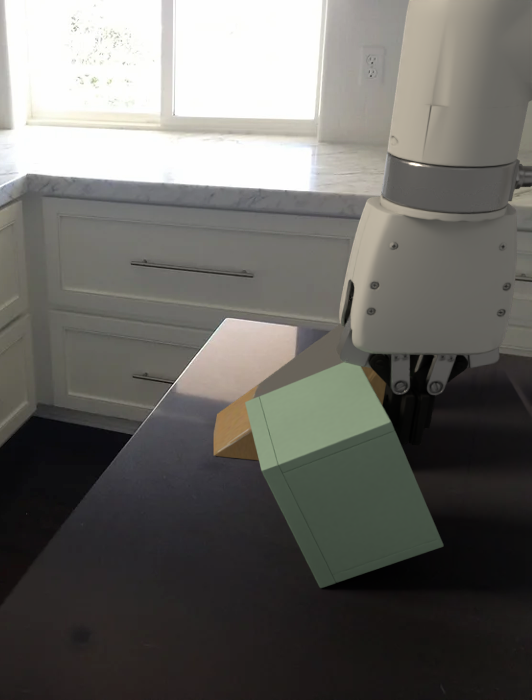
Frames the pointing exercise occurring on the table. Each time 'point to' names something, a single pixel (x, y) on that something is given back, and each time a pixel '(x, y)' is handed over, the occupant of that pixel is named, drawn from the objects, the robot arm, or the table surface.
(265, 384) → the sandwich container
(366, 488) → the bin
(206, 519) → the table surface
